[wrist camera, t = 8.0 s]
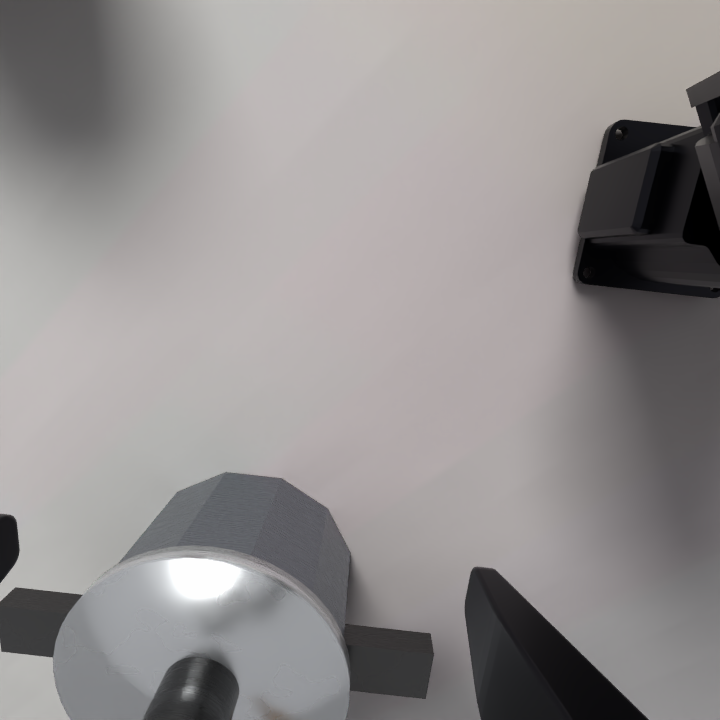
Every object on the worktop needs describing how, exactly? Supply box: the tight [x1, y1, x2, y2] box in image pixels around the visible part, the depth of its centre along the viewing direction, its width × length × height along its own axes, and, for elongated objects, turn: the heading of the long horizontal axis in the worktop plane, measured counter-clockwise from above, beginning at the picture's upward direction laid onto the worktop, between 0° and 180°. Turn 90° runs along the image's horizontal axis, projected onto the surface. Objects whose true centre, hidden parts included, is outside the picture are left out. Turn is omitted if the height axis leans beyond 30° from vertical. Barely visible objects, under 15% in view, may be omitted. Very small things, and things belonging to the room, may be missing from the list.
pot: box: [0, 472, 434, 699], centre depth 20 cm, size 18×11×6 cm, turn 84°
